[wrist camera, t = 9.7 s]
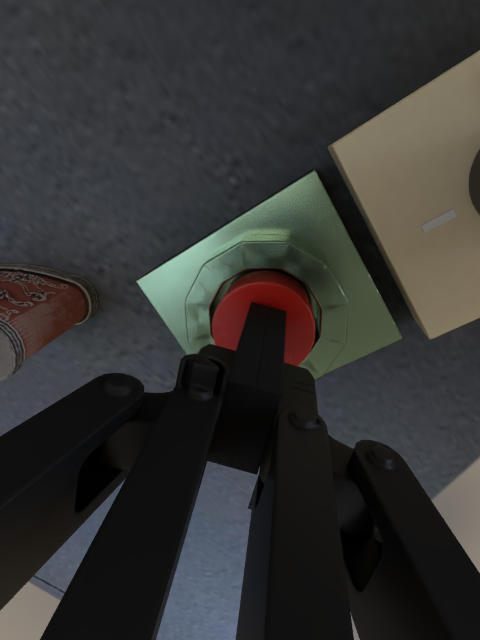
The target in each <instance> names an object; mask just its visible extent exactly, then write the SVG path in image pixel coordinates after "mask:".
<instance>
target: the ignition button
mask: <svg viewBox="0 0 480 640" xmlns="http://www.w3.org/2000/svg"><path fill="white" fill-rule="evenodd" d="M251 302H254V303H258V304H262V305H265V306H269V307H273V308H277V309H280V310H284V311H287V312H286V334H285V355H284V363H287V364H291V365H295V366H298V365H300V364H301V363H302V362H303V361H304V359H305V358H306V357H307V356H308V354H309V352H310V351H311V348H312V346H313V343H314V339H315V321H314V314H313V307H312V303H311V300H310V298H309V296H308V294H307V292H306V291H305V289H304V288H303V287H302V286H301V285H300V284H299V283H298V282H297V281H296V280H294V279H293V278H291V277H290V276H287V275H285V274H283V273H280V272H276V271H269V270H261V271H255V272H251V273H248V274H246V275H244V276H241V277H240V278H238V279H237V280H236V281H235V282H233V283H232V284H231V285H230V287H229V288H228V289H227V291H226V292H225V294H224V296H223V297H222V299H221V301H220V303H219V305H218V306H217V309H216V311H215V313H214V317H213V322H212V333H213V339H214V342H215V345H216V346H220V347H224V348H228V349H231V350H235V351H236V349H237V346H238V343H239V339H240V336H241V333H242V330H243V327H244V323H245V320H246V317H247V314H248V311H249V307H250V304H251Z"/></svg>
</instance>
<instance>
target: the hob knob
mask: <svg viewBox="0 0 480 640" xmlns="http://www.w3.org/2000/svg"><path fill="white" fill-rule="evenodd" d="M469 193H470V198H471V201H472V204H473V206H474V208H475V209H476V211H477V212H478V213H479V215H480V149H479V151H478V152H477V154H476V156H475V158H474V161H473V163H472V166H471V170H470V174H469Z"/></svg>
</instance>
